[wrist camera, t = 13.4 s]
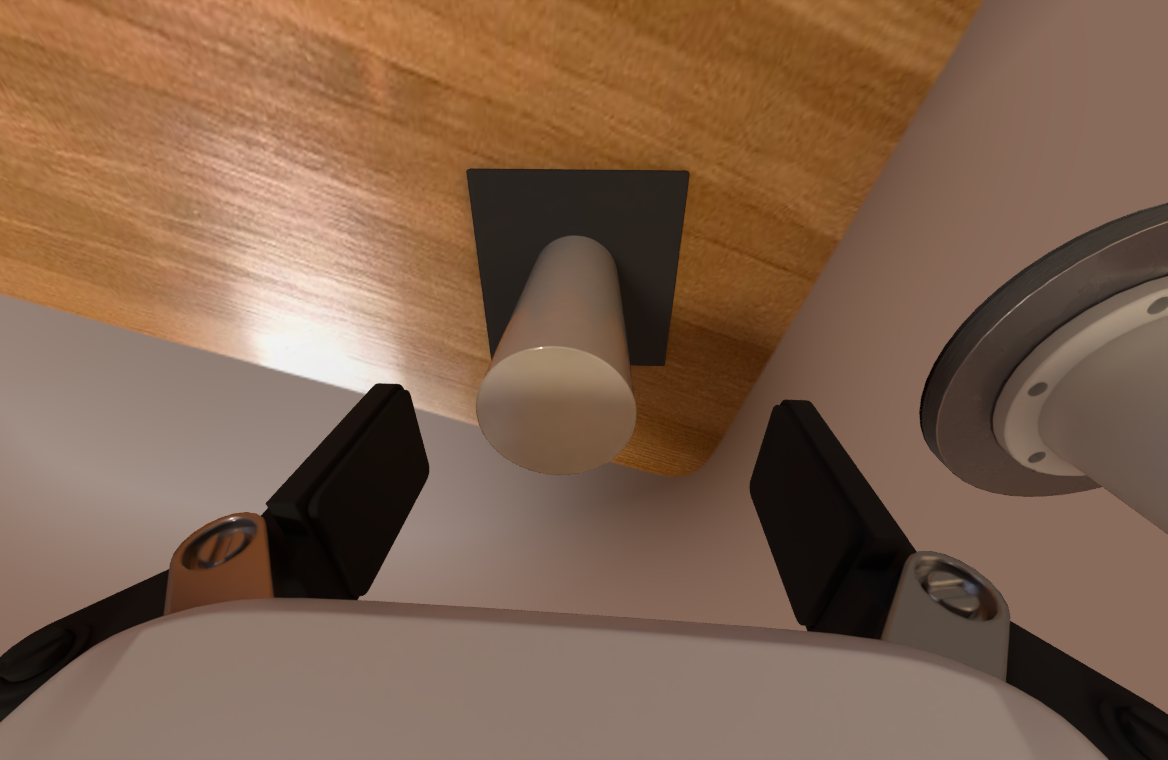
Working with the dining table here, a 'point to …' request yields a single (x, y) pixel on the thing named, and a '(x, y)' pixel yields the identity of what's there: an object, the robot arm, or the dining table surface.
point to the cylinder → (562, 366)
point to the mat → (590, 209)
